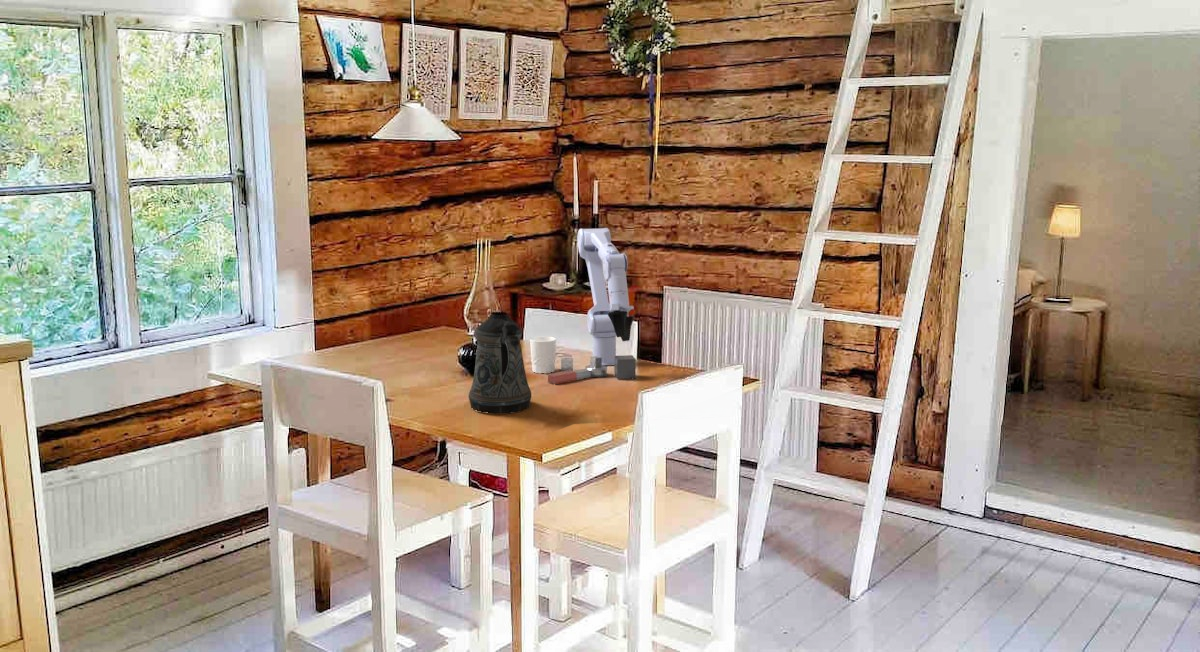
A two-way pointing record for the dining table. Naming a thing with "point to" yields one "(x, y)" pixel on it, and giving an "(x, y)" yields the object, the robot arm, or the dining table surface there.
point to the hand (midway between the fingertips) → (623, 338)
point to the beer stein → (499, 367)
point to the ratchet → (580, 372)
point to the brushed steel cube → (625, 367)
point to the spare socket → (566, 364)
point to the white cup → (543, 354)
